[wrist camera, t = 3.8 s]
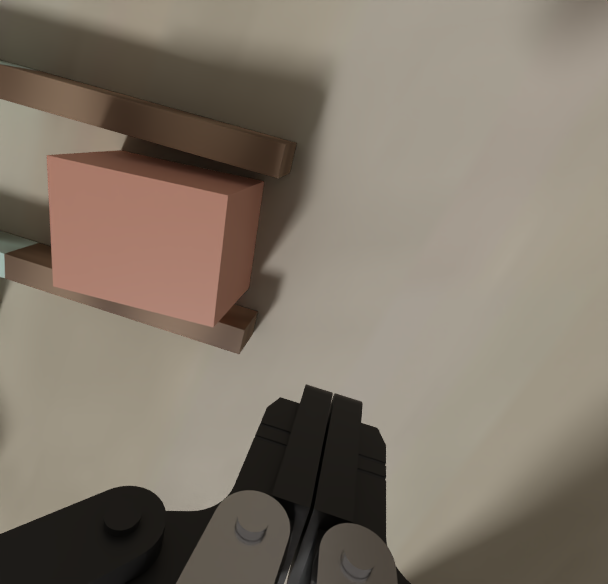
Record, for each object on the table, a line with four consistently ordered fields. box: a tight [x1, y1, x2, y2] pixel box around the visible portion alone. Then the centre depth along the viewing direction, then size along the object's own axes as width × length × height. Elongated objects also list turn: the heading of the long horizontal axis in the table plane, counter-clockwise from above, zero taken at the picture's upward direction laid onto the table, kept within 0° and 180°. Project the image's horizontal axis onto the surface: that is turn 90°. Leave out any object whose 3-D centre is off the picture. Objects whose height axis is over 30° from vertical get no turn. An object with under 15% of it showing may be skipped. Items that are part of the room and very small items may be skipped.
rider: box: [47, 150, 264, 327], centre depth 21 cm, size 8×6×6 cm
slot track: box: [0, 60, 297, 354], centre depth 22 cm, size 27×11×4 cm, turn 75°
